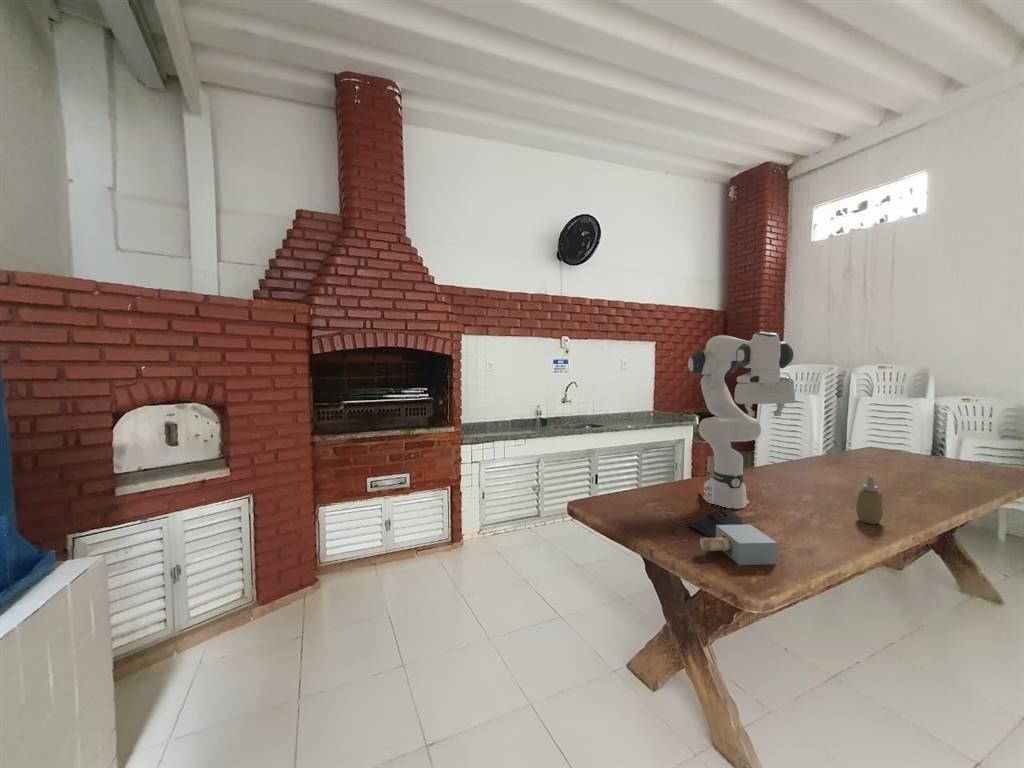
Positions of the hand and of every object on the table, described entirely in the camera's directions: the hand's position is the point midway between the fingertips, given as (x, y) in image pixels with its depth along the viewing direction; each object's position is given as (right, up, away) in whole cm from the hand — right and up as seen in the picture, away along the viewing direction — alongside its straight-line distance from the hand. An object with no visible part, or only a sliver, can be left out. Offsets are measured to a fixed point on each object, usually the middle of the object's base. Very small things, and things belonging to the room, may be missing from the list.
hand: (764, 416), depth 145 cm
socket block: (-13, -45, -10) cm, 48 cm away
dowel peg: (-21, -44, -11) cm, 49 cm away
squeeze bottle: (+50, -43, +15) cm, 68 cm away
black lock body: (-11, -44, +11) cm, 47 cm away
